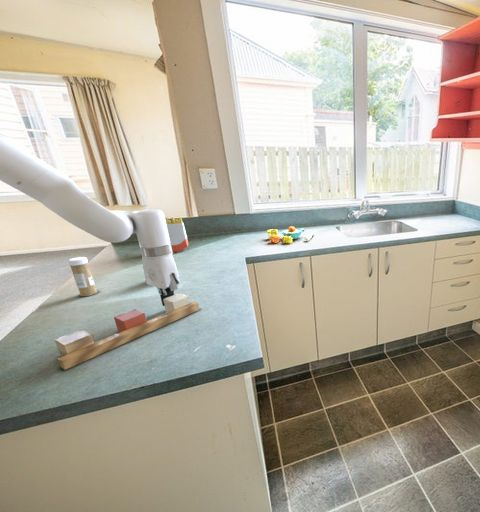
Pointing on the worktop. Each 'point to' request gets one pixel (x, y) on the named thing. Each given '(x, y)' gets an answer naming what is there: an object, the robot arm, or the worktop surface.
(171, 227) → the french fries container
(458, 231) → the worktop surface
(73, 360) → the rail
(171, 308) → the cream block
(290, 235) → the toy juicer set
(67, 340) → the maple block
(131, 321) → the terracotta block
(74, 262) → the sprinkles bottle
